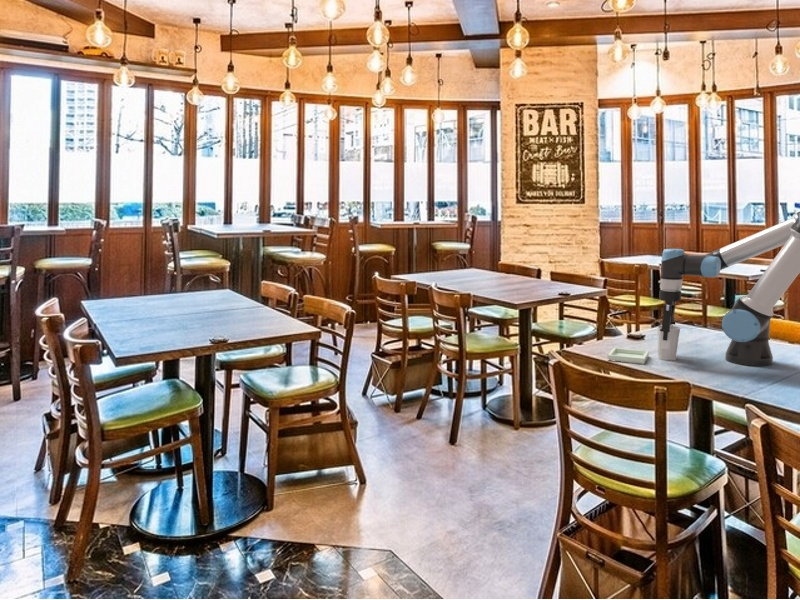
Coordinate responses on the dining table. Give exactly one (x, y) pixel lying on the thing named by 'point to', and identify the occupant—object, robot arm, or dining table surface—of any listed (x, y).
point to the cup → (673, 343)
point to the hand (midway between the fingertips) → (666, 344)
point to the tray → (628, 355)
